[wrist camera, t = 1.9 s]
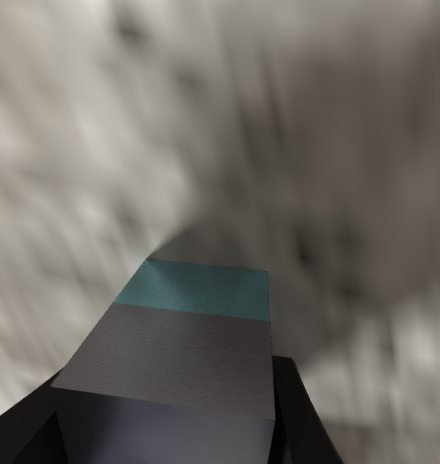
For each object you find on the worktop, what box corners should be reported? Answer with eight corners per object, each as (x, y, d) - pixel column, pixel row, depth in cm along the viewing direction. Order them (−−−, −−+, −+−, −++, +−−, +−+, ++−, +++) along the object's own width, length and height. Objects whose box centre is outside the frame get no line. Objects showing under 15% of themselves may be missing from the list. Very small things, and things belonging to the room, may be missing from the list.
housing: (250, 400, 12) (245, 584, 7) (153, 386, 12) (90, 553, 8) (267, 270, 10) (275, 420, 5) (146, 257, 10) (49, 386, 5)
